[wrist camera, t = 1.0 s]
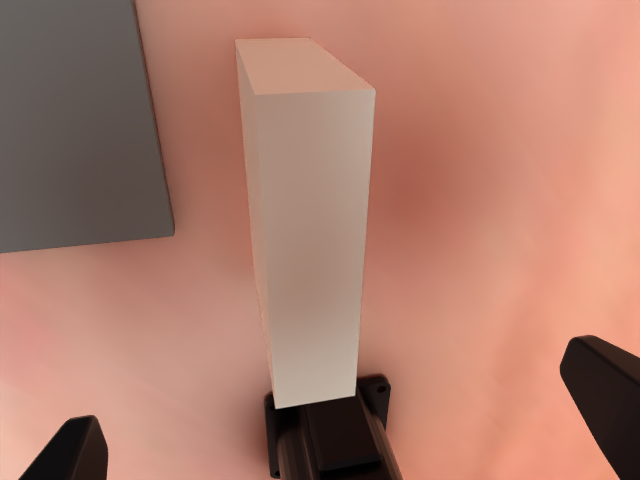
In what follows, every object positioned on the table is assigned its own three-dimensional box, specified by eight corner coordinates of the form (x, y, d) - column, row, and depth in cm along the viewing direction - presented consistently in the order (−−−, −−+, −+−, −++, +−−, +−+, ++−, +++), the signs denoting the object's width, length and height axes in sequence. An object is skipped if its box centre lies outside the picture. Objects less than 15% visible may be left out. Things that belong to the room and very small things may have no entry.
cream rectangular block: (314, 265, 20) (359, 394, 14) (253, 271, 19) (275, 409, 14) (313, 37, 15) (383, 89, 9) (234, 39, 15) (255, 94, 9)
